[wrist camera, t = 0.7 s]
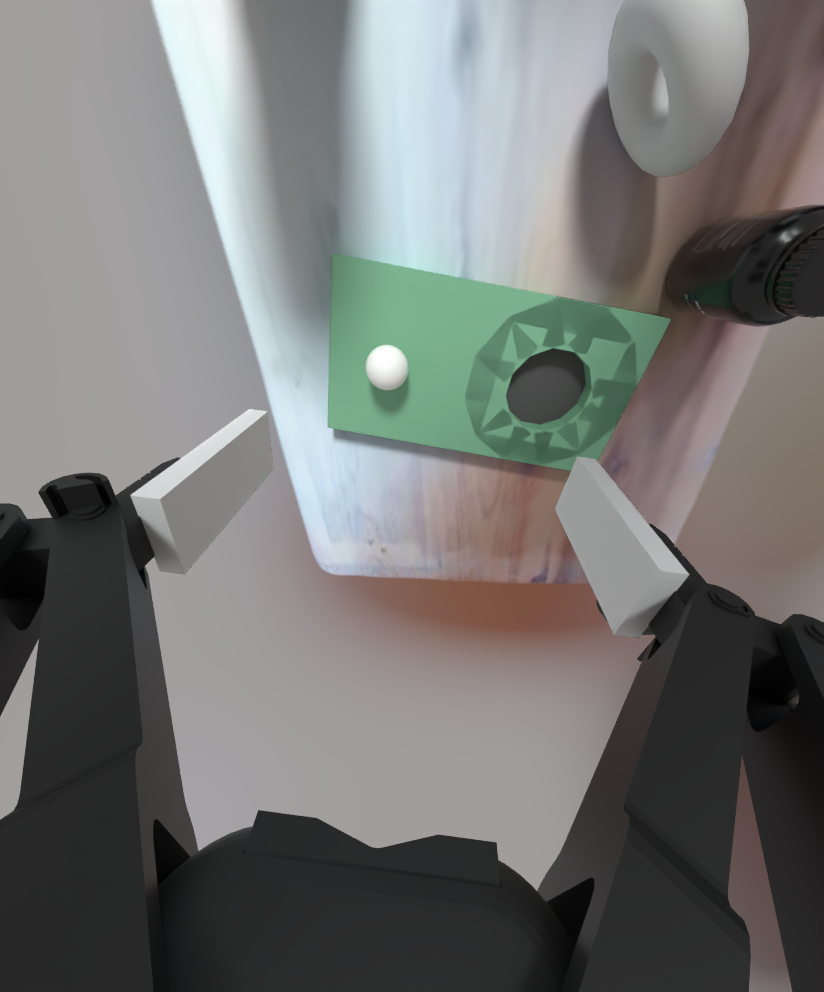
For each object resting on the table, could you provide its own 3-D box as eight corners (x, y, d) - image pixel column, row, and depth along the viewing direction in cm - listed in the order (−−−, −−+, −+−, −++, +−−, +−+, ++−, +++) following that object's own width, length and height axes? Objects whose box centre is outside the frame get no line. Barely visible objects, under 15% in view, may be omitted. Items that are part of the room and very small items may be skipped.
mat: (337, 254, 31) (331, 253, 30) (659, 316, 32) (671, 318, 30) (332, 420, 40) (327, 427, 38) (584, 466, 41) (590, 474, 39)
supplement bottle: (656, 319, 32) (751, 343, 22) (673, 228, 29) (796, 208, 19) (739, 306, 31) (878, 325, 21) (768, 209, 28) (953, 178, 18)
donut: (675, 166, 27) (781, 121, 18) (629, 201, 28) (707, 173, 20) (633, -3, 22) (745, -160, 14) (581, 47, 24) (655, -70, 15)
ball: (371, 337, 33) (363, 345, 30) (413, 345, 33) (409, 354, 30) (368, 379, 35) (360, 391, 32) (406, 386, 35) (403, 399, 32)
